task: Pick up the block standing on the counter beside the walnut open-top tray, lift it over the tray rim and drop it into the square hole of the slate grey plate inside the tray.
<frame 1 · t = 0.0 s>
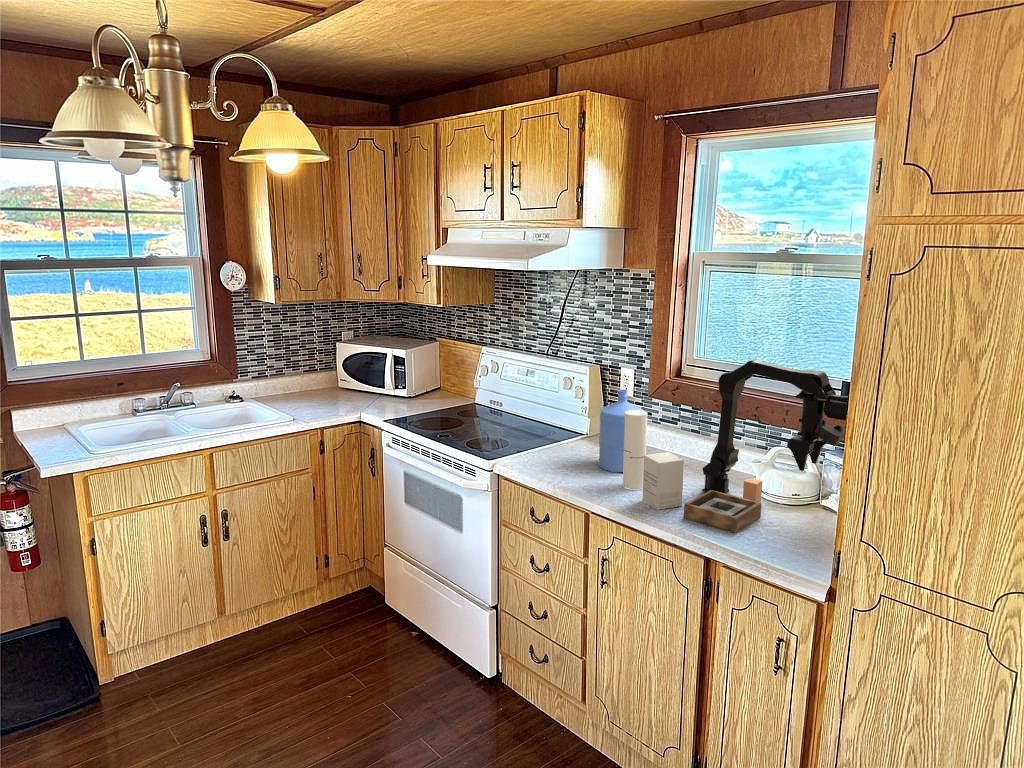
hand: (808, 467, 202), 15 cm above the countertop, tool pointing down, fingers open, 9 cm apart
supplement box: (661, 504, 214), on the countertop
block: (751, 505, 212), on the countertop
tray: (722, 517, 203), on the countertop
cylindrical container: (633, 486, 229), on the countertop
water jug: (620, 467, 250), on the countertop
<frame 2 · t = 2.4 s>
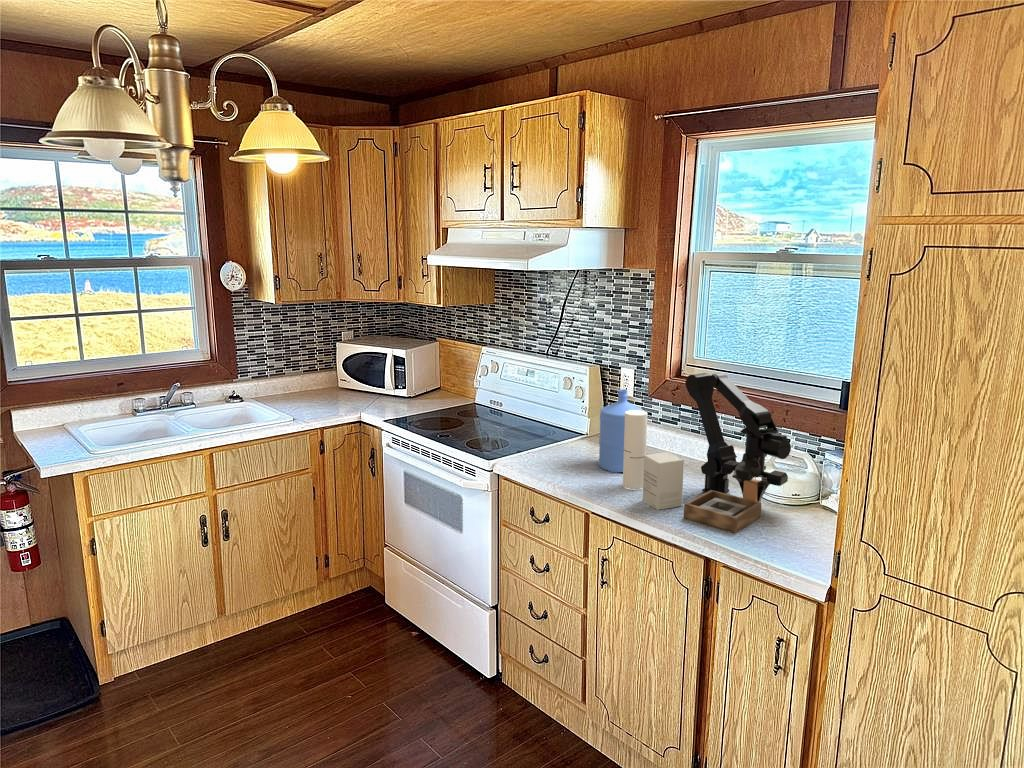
hand: (751, 499, 212), 2 cm above the countertop, tool pointing down, fingers closed on block, 4 cm apart
block: (751, 505, 212), on the countertop, touching gripper
everything else where it was.
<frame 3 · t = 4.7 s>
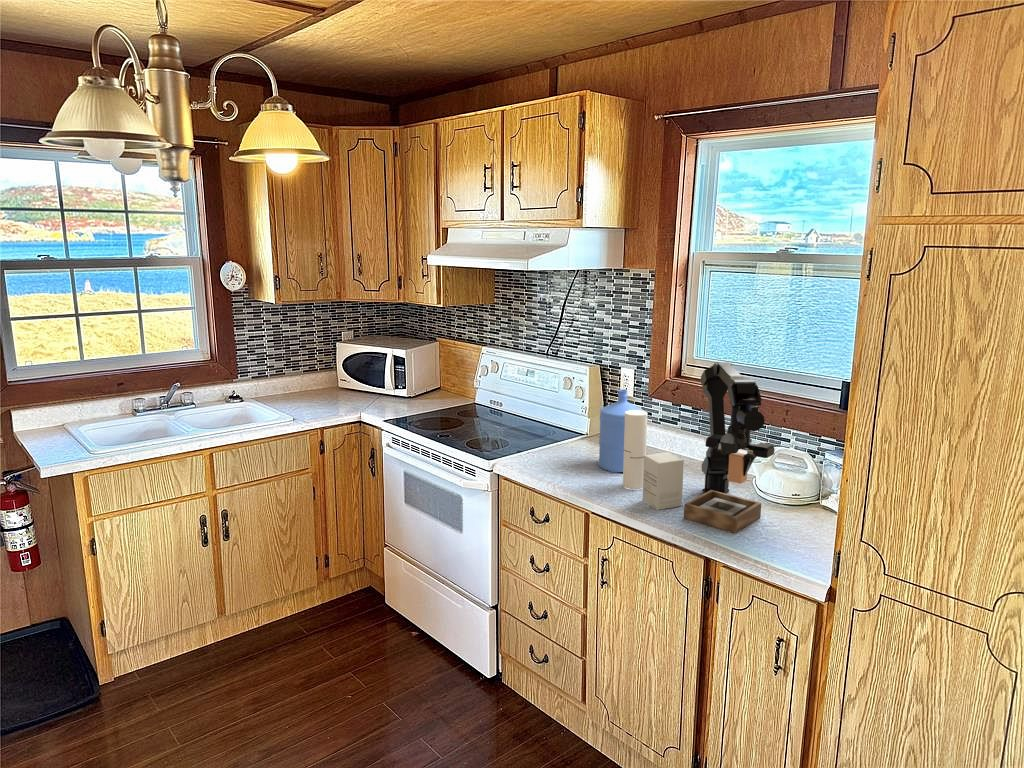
hand: (737, 474, 204), 12 cm above the countertop, tool pointing down, fingers closed on block, 4 cm apart
block: (737, 480, 204), point 10 cm above the countertop, touching gripper
everything else where it was.
when the fingers open (4 cm above the countertop, at t = 7.0 s): block drops 2 cm, resting on tray.
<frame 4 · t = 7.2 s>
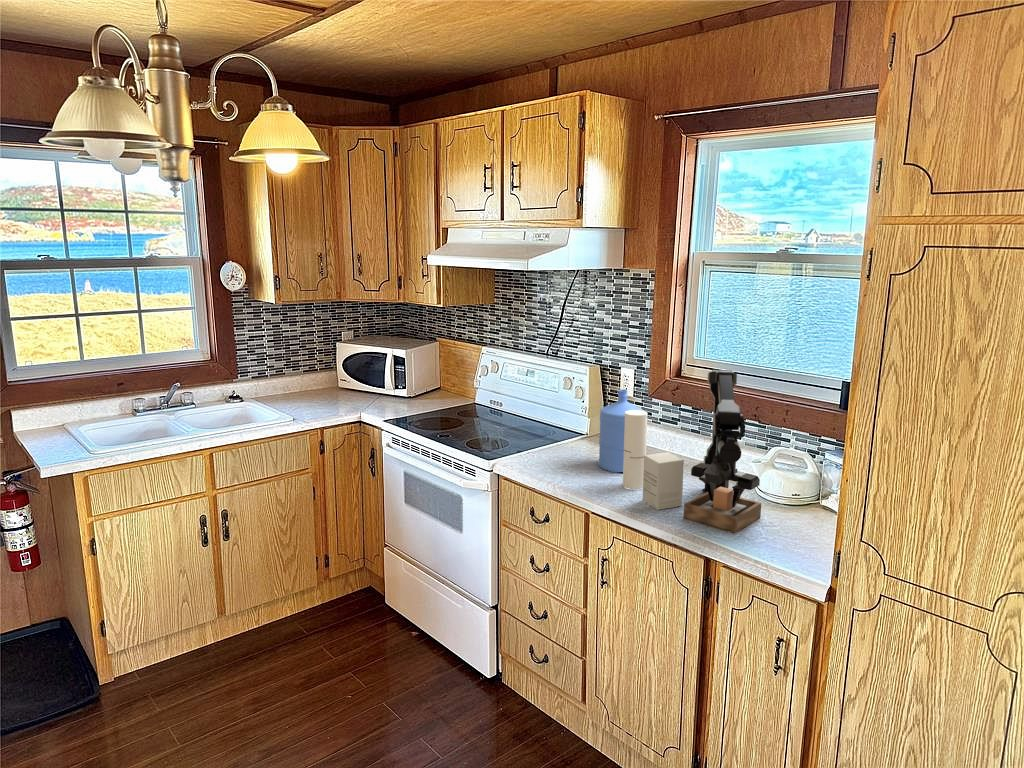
hand: (722, 503, 202), 4 cm above the countertop, tool pointing down, fingers open, 6 cm apart
block: (722, 515, 203), point 1 cm above the countertop, touching tray
everything else where it was.
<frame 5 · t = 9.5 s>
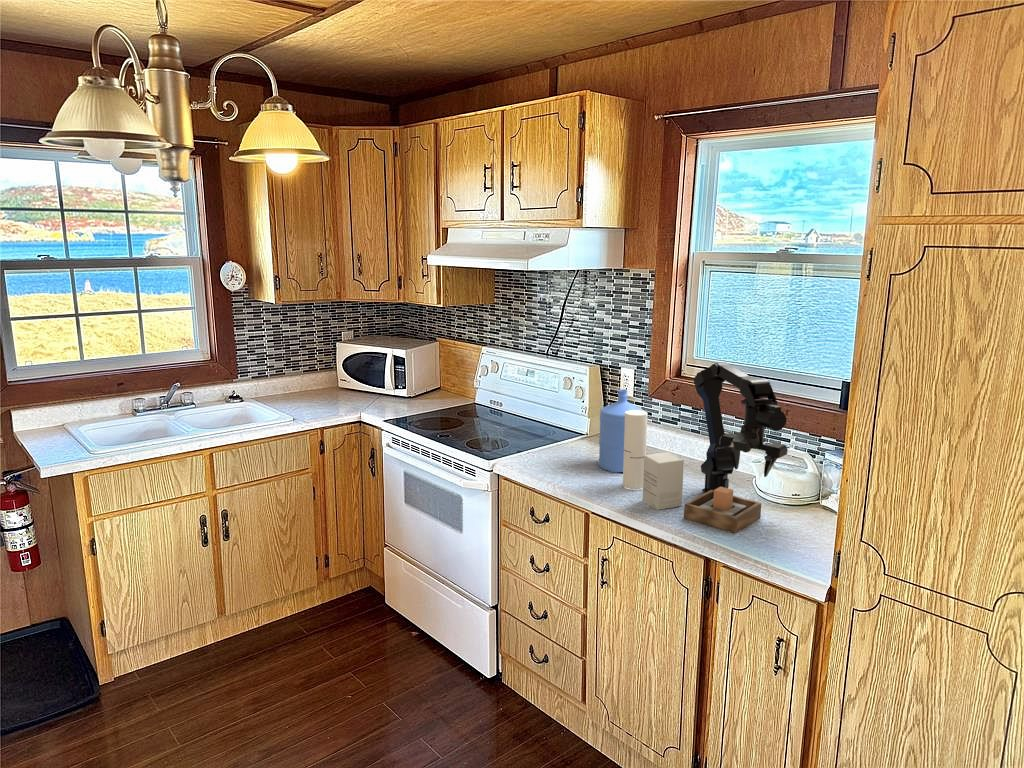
hand: (750, 472, 206), 12 cm above the countertop, tool pointing down, fingers open, 9 cm apart
nothing on the countertop moved.
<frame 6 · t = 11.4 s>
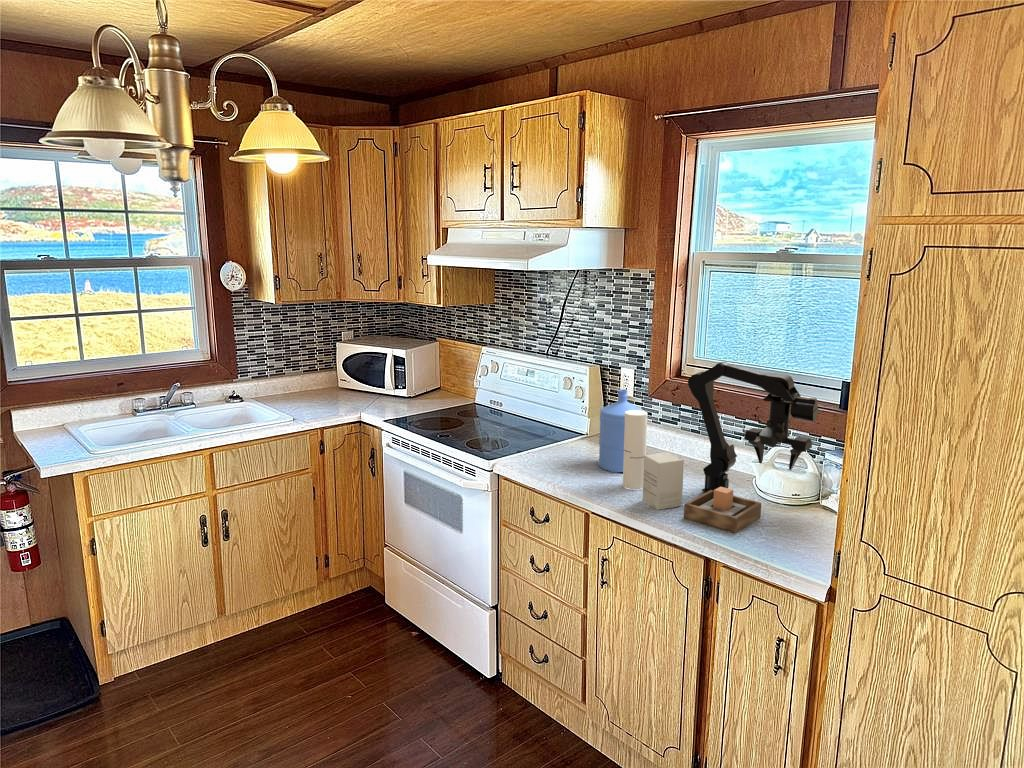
hand: (775, 466, 211), 12 cm above the countertop, tool pointing down, fingers open, 9 cm apart
nothing on the countertop moved.
at the end: block 0.0 cm off-centre on the tray, point 0.6 cm above the tray's base; block tilted 0° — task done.
